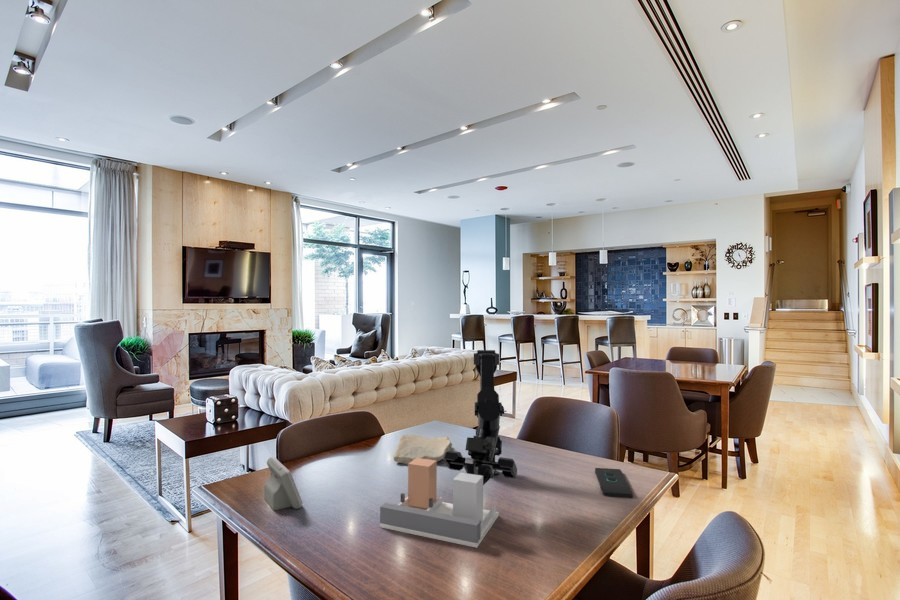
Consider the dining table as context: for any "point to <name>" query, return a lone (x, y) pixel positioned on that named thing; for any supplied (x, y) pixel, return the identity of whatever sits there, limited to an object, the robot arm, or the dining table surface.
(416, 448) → the beige rock
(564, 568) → the dining table surface
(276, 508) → the digital clock
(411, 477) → the tall tan brick
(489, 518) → the base
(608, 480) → the smart home device
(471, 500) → the tall white block
